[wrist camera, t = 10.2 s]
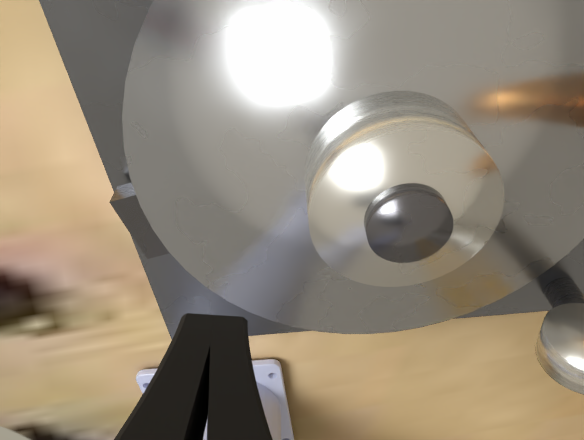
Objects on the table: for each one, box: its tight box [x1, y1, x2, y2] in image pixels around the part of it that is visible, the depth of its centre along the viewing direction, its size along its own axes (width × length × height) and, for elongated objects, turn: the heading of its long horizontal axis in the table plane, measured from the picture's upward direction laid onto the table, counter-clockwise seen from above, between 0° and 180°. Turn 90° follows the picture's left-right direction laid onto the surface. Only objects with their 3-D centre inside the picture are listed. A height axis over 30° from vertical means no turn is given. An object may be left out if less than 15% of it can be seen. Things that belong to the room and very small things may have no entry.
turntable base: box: [39, 0, 584, 394], centre depth 15 cm, size 20×20×7 cm
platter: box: [110, 0, 584, 334], centre depth 15 cm, size 18×17×5 cm
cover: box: [304, 91, 505, 287], centre depth 14 cm, size 6×6×3 cm
